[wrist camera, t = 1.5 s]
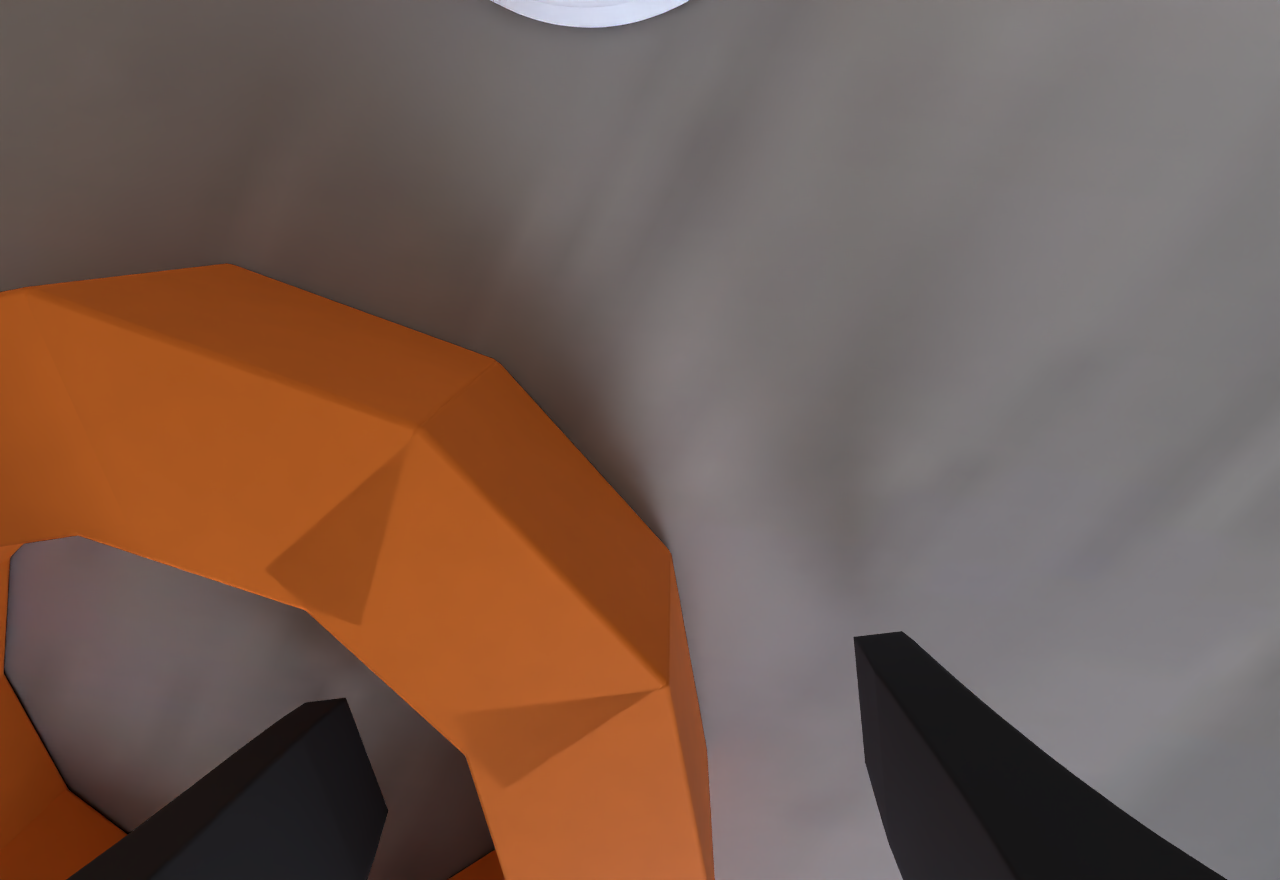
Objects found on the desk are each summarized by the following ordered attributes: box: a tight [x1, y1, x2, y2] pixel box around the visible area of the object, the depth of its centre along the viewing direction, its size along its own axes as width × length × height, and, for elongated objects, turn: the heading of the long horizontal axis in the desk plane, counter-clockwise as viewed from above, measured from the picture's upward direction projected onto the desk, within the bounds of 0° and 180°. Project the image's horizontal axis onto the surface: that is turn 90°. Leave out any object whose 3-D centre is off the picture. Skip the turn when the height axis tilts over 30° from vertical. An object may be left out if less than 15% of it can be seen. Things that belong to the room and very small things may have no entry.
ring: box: [0, 263, 715, 880], centre depth 10 cm, size 14×14×3 cm
